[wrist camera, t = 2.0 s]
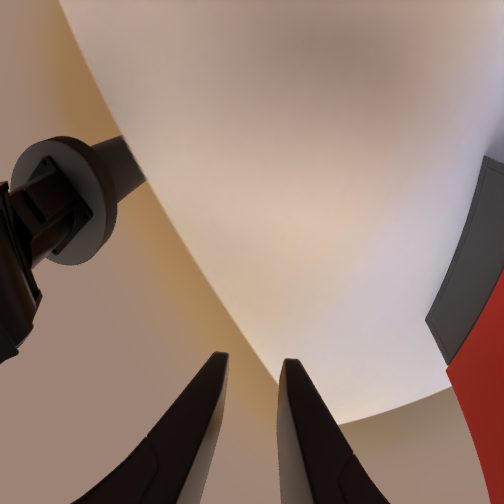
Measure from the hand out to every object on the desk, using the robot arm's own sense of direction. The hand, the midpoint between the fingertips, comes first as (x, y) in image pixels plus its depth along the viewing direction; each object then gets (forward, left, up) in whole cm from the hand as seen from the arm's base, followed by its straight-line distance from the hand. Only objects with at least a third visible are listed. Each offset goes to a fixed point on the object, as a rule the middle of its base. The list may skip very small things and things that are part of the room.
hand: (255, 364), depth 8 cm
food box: (+16, -15, -13) cm, 26 cm away
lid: (+12, -11, 0) cm, 16 cm away
